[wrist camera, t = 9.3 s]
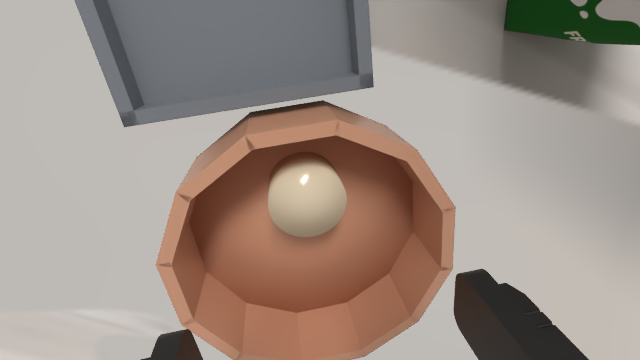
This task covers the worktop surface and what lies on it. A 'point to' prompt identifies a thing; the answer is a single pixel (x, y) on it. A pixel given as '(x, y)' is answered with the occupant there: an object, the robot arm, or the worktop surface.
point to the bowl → (306, 241)
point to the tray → (225, 53)
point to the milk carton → (577, 20)
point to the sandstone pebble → (305, 195)
